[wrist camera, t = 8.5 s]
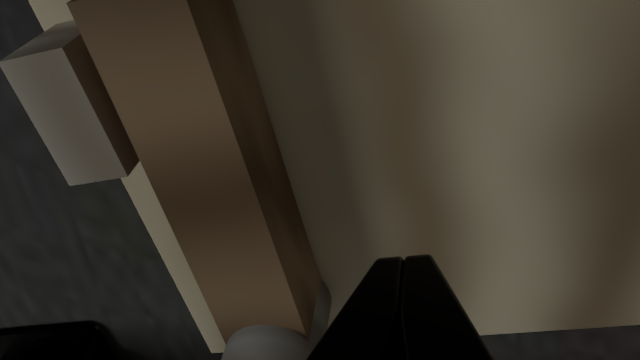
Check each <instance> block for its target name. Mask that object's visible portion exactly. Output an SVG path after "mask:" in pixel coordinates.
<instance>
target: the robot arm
mask: <svg viewBox="0 0 640 360" xmlns="http://www.w3.org/2000/svg"><path fill="white" fill-rule="evenodd" d="M0 360H116V359H115V357H114V356H113V354H112V353H111V351H110V349H109V348H108V346H107V345H106V343H105V342H104V340H103V339H102V337H101V336H100V334H99V333H98V331H97V329H96V328H95V327H94V326H92V325H91V324H88V323H74V324H63V325H51V326H40V327H28V328H16V329H5V330H0ZM306 360H494V359H493V357H492V355H491V354H490V352H489V350H488V349H487V347H486V345H485V343H484V342H483V340H482V338H481V337H480V335H479V333H478V332H477V330H476V328H475V327H474V325H473V323H472V322H471V320H470V318H469V317H468V315H467V313H466V311H465V310H464V308H463V306H462V305H461V303H460V301H459V300H458V298H457V296H456V295H455V293H454V291H453V290H452V288H451V286H450V285H449V283H448V281H447V280H446V278H445V276H444V274H443V273H442V271H441V269H440V268H439V266H438V264H437V263H436V261H435V259H434V258H433V257H432V256H431V255H429V254H423V255H410V256H407V257H406V258H405V259H403V258H402V257H400V256H397V257H384V258H378V259H377V260H375V262H374V263H373V265H372V266H371V267H370V269H369V270H368V272H367V273H366V275H365V276H364V277H363V279H362V280H361V282H360V283H359V284H358V286H357V287H356V289H355V290H354V292H353V293H352V294H351V296H350V297H349V299H348V300H347V302H346V303H345V304H344V306H343V307H342V309H341V310H340V312H339V313H338V314H337V316H336V317H335V319H334V320H333V322H332V323H331V324H330V326H329V327H328V329H327V330H326V331H325V333H324V334H323V336H322V337H321V339H320V340H319V341H318V343H317V344H316V346H315V347H314V349H313V350H312V351H311V353H310V354H309V356H308V357H307V359H306Z"/></svg>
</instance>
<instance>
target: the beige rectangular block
mask: <svg viewBox="0 0 640 360" xmlns="http://www.w3.org/2000/svg"><path fill="white" fill-rule="evenodd" d="M28 1H29V3H30V5H31V7H32V9H33V11H34V13H35V15H36V16H37V18H38V20H39V22H40V24H41V26H42V28H43V30H44V32H43V33H42V34H40V35H39V36H37V37H36V38H34V39H33V40H31V41H29V42H28V43H26V44H25V45H23V46H22V47H20V48H19V49H17V50H16V51H14V52H13V53H11V54H10V55H8V56H7V57H5V58H4V59H2V60H1V61H0V67H1V69H2V70H3V72H4V74H5V76H6V77H7V79H8V81H9V82H10V84H11V86H12V88H13V89H14V91H15V93H16V95H17V96H18V98H19V100H20V101H21V103H22V105H23V107H24V108H25V110H26V112H27V114H28V115H29V117H30V119H31V120H32V122H33V124H34V126H35V127H36V129H37V131H38V133H39V134H40V136H41V138H42V139H43V141H44V143H45V145H46V146H47V148H48V150H49V151H50V153H51V155H52V157H53V158H54V160H55V162H56V164H57V165H58V167H59V169H60V170H61V172H62V174H63V176H64V177H65V179H66V181H67V183H68V184H69V186H72V185H79V184H85V183H91V182H98V181H104V180H110V179H117V178H121V180H122V182H123V184H124V186H125V188H126V190H127V191H128V193H129V195H130V197H131V199H132V201H133V203H134V205H135V207H136V209H137V211H138V213H139V215H140V216H141V218H142V220H143V222H144V224H145V226H146V228H147V230H148V232H149V234H150V236H151V238H152V240H153V241H154V243H155V245H156V247H157V249H158V251H159V253H160V255H161V257H162V259H163V261H164V263H165V265H166V266H167V268H168V270H169V272H170V274H171V276H172V278H173V280H174V282H175V284H176V286H177V288H178V290H179V291H180V293H181V295H182V297H183V299H184V301H185V303H186V305H187V307H188V309H189V311H190V313H191V315H192V316H193V318H194V320H195V322H196V324H197V326H198V328H199V330H200V332H201V334H202V336H203V338H204V340H205V341H206V343H207V345H208V347H209V349H210V351H211V353H222V352H224V350H225V347H226V344H225V342H224V340H223V338H222V335H221V333H220V331H219V329H218V327H217V325H216V323H215V321H214V318H213V316H212V314H211V312H210V310H209V308H208V306H207V303H206V301H205V299H204V297H203V295H202V293H201V291H200V288H199V286H198V284H197V282H196V280H195V278H194V276H193V273H192V271H191V269H190V267H189V265H188V263H187V261H186V258H185V256H184V254H183V252H182V250H181V248H180V246H179V243H178V241H177V239H176V237H175V235H174V233H173V231H172V228H171V226H170V224H169V222H168V220H167V218H166V216H165V213H164V211H163V209H162V207H161V205H160V203H159V201H158V198H157V196H156V194H155V192H154V190H153V188H152V186H151V183H150V181H149V179H148V177H147V175H146V173H145V171H144V169H143V166H142V164H141V162H140V160H139V158H138V156H137V154H136V151H135V149H134V147H133V145H132V143H131V141H130V139H129V136H128V134H127V132H126V130H125V128H124V126H123V124H122V121H121V119H120V117H119V115H118V113H117V111H116V109H115V106H114V104H113V102H112V100H111V98H110V96H109V94H108V91H107V89H106V87H105V85H104V83H103V81H102V79H101V76H100V74H99V72H98V70H97V68H96V66H95V64H94V61H93V59H92V57H91V55H90V53H89V51H88V49H87V46H86V44H85V42H84V40H83V38H82V36H81V34H80V31H79V29H78V27H77V25H76V23H75V21H74V19H73V16H72V14H71V12H70V10H69V8H68V6H67V4H66V3H67V2H69V1H70V0H28ZM233 3H234V7H235V10H236V13H237V16H238V19H239V22H240V26H241V29H242V32H243V35H244V38H245V41H246V45H247V48H248V51H249V54H250V57H251V60H252V64H253V67H254V70H255V73H256V76H257V79H258V82H259V86H260V89H261V92H262V95H263V98H264V101H265V105H266V108H267V111H268V114H269V117H270V120H271V124H272V127H273V130H274V133H275V136H276V139H277V143H278V146H279V149H280V152H281V155H282V158H283V162H284V165H285V168H286V171H287V174H288V177H289V181H290V184H291V187H292V190H293V193H294V196H295V200H296V203H297V206H298V209H299V212H300V215H301V219H302V222H303V225H304V228H305V231H306V234H307V238H308V241H309V244H310V247H311V250H312V253H313V256H314V260H315V263H316V266H317V269H318V272H319V275H320V279H321V280H322V281H323V282H324V283H325V285H326V286H327V288H328V289H329V292H330V294H331V301H332V303H331V309H330V315H329V321H328V327H329V326H330V324H331V323H332V322H333V320H334V319H335V317H336V316H337V314H338V313H339V312H340V310H341V309H342V307H343V306H344V304H345V303H346V302H347V300H348V299H349V297H350V296H351V294H352V293H353V292H354V290H355V289H356V287H357V286H358V284H359V283H360V282H361V280H362V279H363V277H364V276H365V275H366V273H367V272H368V270H369V269H370V267H371V266H372V265H373V263H374V262H375V260H377V259H378V258H384V257H397V256H400V257H402V258H403V259H405V258H406V257H407V256H410V255H423V254H429V255H431V256H432V257H433V258H434V259H435V261H436V263H437V264H438V266H439V268H440V269H441V271H442V273H443V274H444V276H445V278H446V280H447V281H448V283H449V285H450V286H451V288H452V290H453V291H454V293H455V295H456V296H457V298H458V300H459V301H460V303H461V305H462V306H463V308H464V310H465V311H466V313H467V315H468V317H469V318H470V320H471V322H472V323H473V325H474V327H475V328H476V330H477V332H478V333H479V335H492V334H507V333H522V332H537V331H552V330H567V329H582V328H597V327H612V326H627V325H640V0H233ZM328 327H327V329H328Z"/></svg>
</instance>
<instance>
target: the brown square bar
mask: <svg viewBox="0 0 640 360" xmlns="http://www.w3.org/2000/svg"><path fill="white" fill-rule="evenodd" d="M66 4H67V6H68V8H69V10H70V12H71V14H72V16H73V19H74V21H75V23H76V25H77V27H78V29H79V31H80V34H81V36H82V38H83V40H84V42H85V44H86V46H87V49H88V51H89V53H90V55H91V57H92V59H93V61H94V64H95V66H96V68H97V70H98V72H99V74H100V76H101V79H102V81H103V83H104V85H105V87H106V89H107V91H108V94H109V96H110V98H111V100H112V102H113V104H114V106H115V109H116V111H117V113H118V115H119V117H120V119H121V121H122V124H123V126H124V128H125V130H126V132H127V134H128V136H129V139H130V141H131V143H132V145H133V147H134V149H135V151H136V154H137V156H138V158H139V160H140V162H141V164H142V166H143V169H144V171H145V173H146V175H147V177H148V179H149V181H150V183H151V186H152V188H153V190H154V192H155V194H156V196H157V198H158V201H159V203H160V205H161V207H162V209H163V211H164V213H165V216H166V218H167V220H168V222H169V224H170V226H171V228H172V231H173V233H174V235H175V237H176V239H177V241H178V243H179V246H180V248H181V250H182V252H183V254H184V256H185V258H186V261H187V263H188V265H189V267H190V269H191V271H192V273H193V276H194V278H195V280H196V282H197V284H198V286H199V288H200V291H201V293H202V295H203V297H204V299H205V301H206V303H207V306H208V308H209V310H210V312H211V314H212V316H213V318H214V321H215V323H216V325H217V327H218V329H219V331H220V333H221V335H222V338H223V340H224V342H225V344H226V347H225V350H224V353H223V356H222V359H221V360H306V359H307V357H308V356H309V354H310V353H311V351H312V350H313V349H314V347H315V346H316V344H317V343H318V341H319V340H320V339H321V337H322V336H323V334H324V333H325V331H326V330H327V327H328V321H329V315H330V309H331V303H332V301H331V294H330V292H329V289H328V288H327V286H326V285H325V283H324V282H323V281H322V280H321V279H320V275H319V272H318V269H317V266H316V263H315V260H314V256H313V253H312V250H311V247H310V244H309V241H308V238H307V234H306V231H305V228H304V225H303V222H302V219H301V215H300V212H299V209H298V206H297V203H296V200H295V196H294V193H293V190H292V187H291V184H290V181H289V177H288V174H287V171H286V168H285V165H284V162H283V158H282V155H281V152H280V149H279V146H278V143H277V139H276V136H275V133H274V130H273V127H272V124H271V120H270V117H269V114H268V111H267V108H266V105H265V101H264V98H263V95H262V92H261V89H260V86H259V82H258V79H257V76H256V73H255V70H254V67H253V64H252V60H251V57H250V54H249V51H248V48H247V45H246V41H245V38H244V35H243V32H242V29H241V26H240V22H239V19H238V16H237V13H236V10H235V7H234V3H233V0H70V1H69V2H67V3H66Z"/></svg>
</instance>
